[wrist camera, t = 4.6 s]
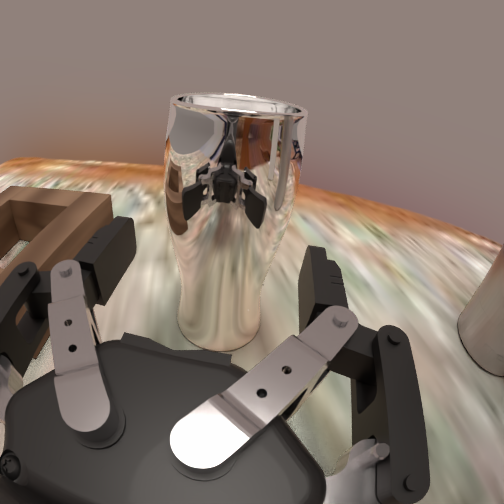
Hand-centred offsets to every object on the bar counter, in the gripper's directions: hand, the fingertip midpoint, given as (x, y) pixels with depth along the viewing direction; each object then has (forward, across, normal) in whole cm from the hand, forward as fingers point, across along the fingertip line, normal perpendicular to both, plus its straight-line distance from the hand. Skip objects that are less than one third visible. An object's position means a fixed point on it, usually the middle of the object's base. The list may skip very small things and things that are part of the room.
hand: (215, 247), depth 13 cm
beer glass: (+4, 0, +9) cm, 10 cm away
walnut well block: (+4, +20, +9) cm, 22 cm away
